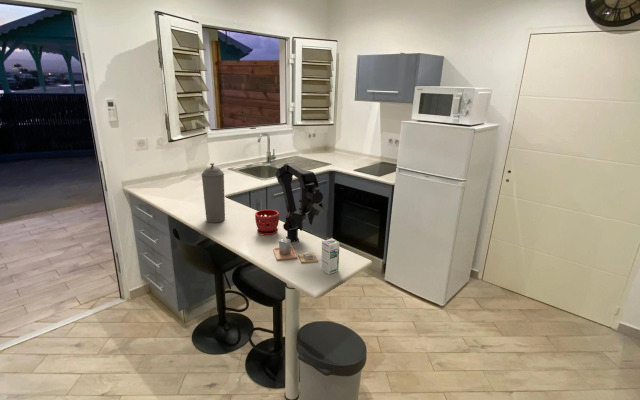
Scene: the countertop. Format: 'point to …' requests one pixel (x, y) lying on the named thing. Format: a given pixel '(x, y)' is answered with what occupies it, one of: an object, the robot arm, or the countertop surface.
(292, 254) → the tray
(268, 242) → the countertop surface
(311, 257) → the stud base
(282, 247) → the strut
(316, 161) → the countertop surface
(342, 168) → the countertop surface
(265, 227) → the plant pot
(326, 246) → the syrup box
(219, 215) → the canister
